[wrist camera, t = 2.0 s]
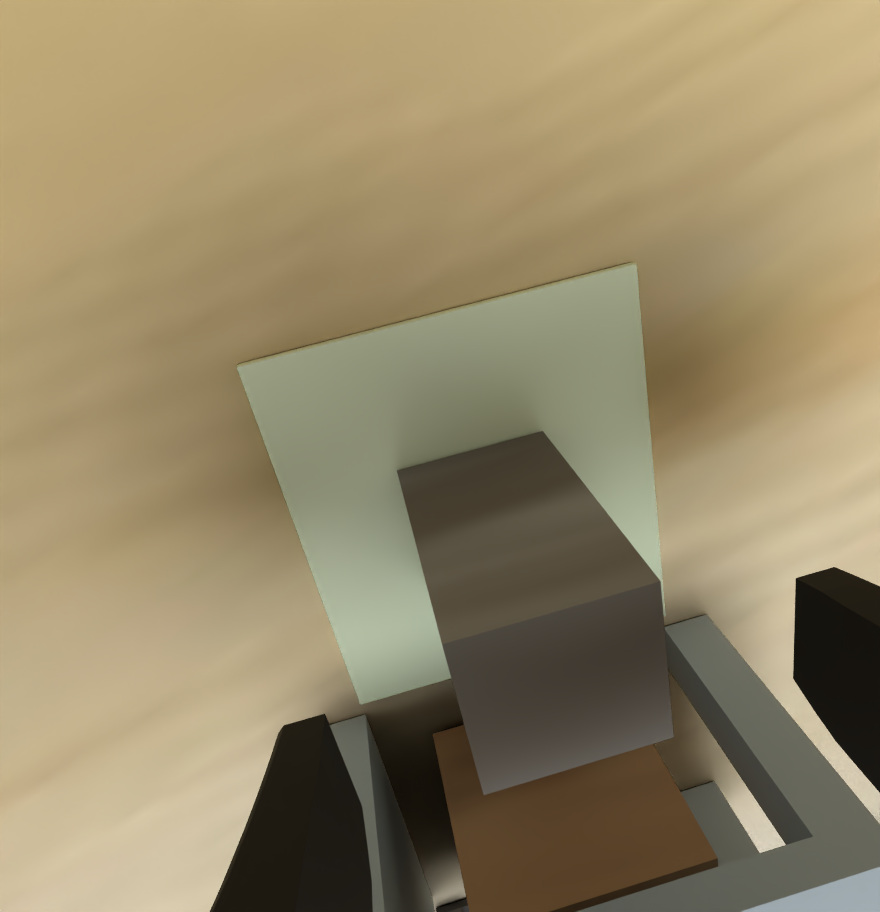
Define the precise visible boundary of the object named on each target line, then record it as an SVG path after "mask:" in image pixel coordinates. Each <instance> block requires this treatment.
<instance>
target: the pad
mask: <svg viewBox="0 0 880 912" xmlns="http://www.w3.org/2000/svg"><path fill="white" fill-rule="evenodd" d="M237 370H238V373H239V375H240V378H241V381H242V384H243V386H244V389H245V392H246V394H247V397H248V400H249V403H250V405H251V408H252V411H253V414H254V416H255V419H256V422H257V424H258V427H259V430H260V433H261V435H262V438H263V441H264V444H265V446H266V449H267V452H268V454H269V457H270V460H271V463H272V465H273V468H274V471H275V474H276V476H277V479H278V482H279V485H280V487H281V490H282V493H283V495H284V498H285V501H286V504H287V506H288V509H289V512H290V515H291V517H292V520H293V523H294V525H295V528H296V531H297V534H298V536H299V539H300V542H301V545H302V547H303V550H304V553H305V555H306V558H307V561H308V564H309V566H310V569H311V572H312V575H313V577H314V580H315V583H316V585H317V588H318V591H319V594H320V596H321V599H322V602H323V605H324V607H325V610H326V613H327V616H328V618H329V621H330V624H331V626H332V629H333V632H334V635H335V637H336V640H337V643H338V646H339V648H340V651H341V654H342V656H343V659H344V662H345V665H346V667H347V670H348V673H349V676H350V678H351V681H352V684H353V686H354V689H355V692H356V695H357V697H358V700H359V703H360V705H362V704H365V703H369V702H372V701H375V700H379V699H382V698H386V697H389V696H393V695H396V694H399V693H403V692H406V691H410V690H413V689H417V688H420V687H423V686H427V685H430V684H434V683H437V682H440V681H444V680H447V679H451V675H450V672H449V668H448V664H447V661H446V657H445V654H444V650H443V646H442V643H441V639H440V635H439V631H438V627H437V623H436V620H435V616H434V612H433V608H432V604H431V600H430V597H429V593H428V589H427V585H426V581H425V577H424V574H423V570H422V566H421V562H420V558H419V554H418V550H417V547H416V543H415V539H414V535H413V531H412V527H411V524H410V520H409V516H408V512H407V508H406V504H405V500H404V497H403V493H402V489H401V485H400V481H399V477H398V474H397V470H401V469H404V468H408V467H412V466H415V465H419V464H423V463H426V462H430V461H434V460H438V459H441V458H445V457H449V456H452V455H456V454H460V453H463V452H467V451H471V450H474V449H478V448H482V447H485V446H489V445H493V444H496V443H500V442H504V441H507V440H511V439H515V438H518V437H522V436H526V435H529V434H533V433H537V432H540V431H543V432H544V433H545V434H546V436H547V437H548V438H549V439H550V441H551V442H552V443H553V444H554V446H555V447H556V448H557V450H558V451H559V452H560V453H561V455H562V456H563V457H564V459H565V460H566V461H567V462H568V464H569V465H570V466H571V467H572V469H573V470H574V471H575V473H576V474H577V475H578V476H579V478H580V479H581V480H582V481H583V483H584V484H585V485H586V487H587V488H588V489H589V490H590V492H591V493H592V494H593V496H594V497H595V498H596V499H597V501H598V502H599V503H600V504H601V506H602V507H603V508H604V510H605V511H606V512H607V513H608V515H609V516H610V517H611V519H612V520H613V521H614V522H615V524H616V525H617V526H618V527H619V529H620V530H621V531H622V533H623V534H624V535H625V536H626V538H627V539H628V540H629V541H630V543H631V544H632V545H633V547H634V548H635V549H636V550H637V552H638V553H639V554H640V556H641V557H642V558H643V559H644V561H645V562H646V563H647V564H648V566H649V567H650V568H651V570H652V571H653V572H654V573H655V575H656V576H657V577H658V579H659V580H660V581H661V592H662V604H663V616H666V614H665V602H664V590H663V578H662V566H661V554H660V542H659V529H658V517H657V505H656V493H655V481H654V469H653V456H652V444H651V432H650V420H649V408H648V396H647V383H646V371H645V359H644V347H643V335H642V323H641V311H640V298H639V286H638V274H637V264H636V263H633V262H631V263H627V264H623V265H619V266H615V267H611V268H608V269H604V270H600V271H596V272H592V273H588V274H584V275H581V276H577V277H573V278H569V279H565V280H561V281H557V282H553V283H550V284H546V285H542V286H538V287H534V288H530V289H526V290H523V291H519V292H515V293H511V294H507V295H503V296H499V297H496V298H492V299H488V300H484V301H480V302H476V303H472V304H468V305H465V306H461V307H457V308H453V309H449V310H445V311H441V312H438V313H434V314H430V315H426V316H422V317H418V318H414V319H411V320H407V321H403V322H399V323H395V324H391V325H387V326H383V327H380V328H376V329H372V330H368V331H364V332H360V333H356V334H353V335H349V336H345V337H341V338H337V339H333V340H329V341H326V342H322V343H318V344H314V345H310V346H306V347H302V348H298V349H295V350H291V351H287V352H283V353H279V354H275V355H271V356H268V357H264V358H260V359H256V360H252V361H248V362H244V363H241V364H237Z"/></svg>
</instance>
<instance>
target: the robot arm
mask: <svg viewBox="0 0 880 912" xmlns="http://www.w3.org/2000/svg"><path fill="white" fill-rule="evenodd" d="M793 679H794V680H795V682H796V683H797V685H798V686H799V688H800V690H801V691H802V693H803V694H804V696H805V697H806V699H807V700H808V702H809V703H810V705H811V706H812V708H813V709H814V711H815V712H816V714H817V715H818V716H819V718H820V719H821V721H822V722H823V724H824V725H825V726H826V728H827V729H828V731H829V732H830V734H831V735H832V736H833V738H834V739H835V741H836V742H837V743H838V744H839V745H840V747H841V748H842V749H843V750H844V751H845V753H846V754H847V755H848V756H849V757H850V758H851V760H852V761H853V762H854V763H855V764H856V765H857V767H858V768H859V769H860V770H861V771H862V772H863V774H864V775H865V776H866V777H867V778H868V779H869V781H870V782H871V783H872V784H873V785H874V786H875V788H876V789H877V790H878V791H879V792H880V586H877V585H875V584H873V583H871V582H868V581H866V580H864V579H861V578H859V577H857V576H855V575H852V574H850V573H847V572H845V571H843V570H840V569H838V568H835V567H833V568H830V569H826V570H823V571H819V572H816V573H812V574H809V575H805V576H802V577H798V578H796V596H795V634H794V671H793ZM210 912H373V903H372V879H371V870H370V862H369V854H368V846H367V838H366V831H365V823H364V816H363V808H362V805H361V802H360V800H359V797H358V795H357V792H356V790H355V787H354V785H353V782H352V780H351V777H350V775H349V772H348V770H347V767H346V765H345V762H344V760H343V757H342V755H341V752H340V750H339V747H338V745H337V742H336V740H335V737H334V735H333V732H332V730H331V727H330V725H329V722H328V720H327V717H326V715H325V714H322V715H319V716H315V717H312V718H308V719H305V720H301V721H298V722H294V723H291V724H287V725H284V726H283V727H282V729H281V730H280V732H279V733H278V736H277V739H276V742H275V746H274V749H273V752H272V755H271V758H270V761H269V763H268V766H267V769H266V772H265V775H264V778H263V781H262V784H261V786H260V789H259V792H258V795H257V797H256V800H255V803H254V805H253V808H252V811H251V813H250V816H249V819H248V821H247V824H246V827H245V829H244V831H243V834H242V836H241V839H240V841H239V844H238V846H237V849H236V851H235V854H234V856H233V859H232V861H231V864H230V866H229V869H228V871H227V873H226V876H225V878H224V881H223V883H222V885H221V888H220V890H219V892H218V895H217V897H216V899H215V901H214V904H213V906H212V908H211V910H210Z"/></svg>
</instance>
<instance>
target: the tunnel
mask: <svg viewBox="0 0 880 912" xmlns="http://www.w3.org/2000/svg"><path fill="white" fill-rule="evenodd" d="M665 639H666V651H667V663H668V669H669V671H670V672H671V674H672V675H673V677H674V678H675V680H676V681H677V683H678V684H679V686H680V687H681V689H682V690H683V692H684V693H685V695H686V696H687V698H688V699H689V701H690V702H691V704H692V705H693V707H694V708H695V710H696V711H697V713H698V714H699V716H700V717H701V719H702V720H703V722H704V723H705V725H706V726H707V727H708V729H709V730H710V732H711V733H712V735H713V736H714V738H715V739H716V741H717V742H718V744H719V745H720V747H721V748H722V750H723V751H724V753H725V754H726V756H727V757H728V759H729V760H730V762H731V763H732V765H733V766H734V768H735V769H736V771H737V772H738V774H739V775H740V777H741V778H742V780H743V781H744V783H745V784H746V786H747V787H748V789H749V790H750V792H751V793H752V795H753V796H754V798H755V799H756V801H757V802H758V804H759V805H760V807H761V808H762V810H763V811H764V813H765V814H766V816H767V817H768V819H769V820H770V822H771V823H772V825H773V826H774V828H775V829H776V831H777V832H778V834H779V835H780V837H781V838H782V839H783V841H784V842H785V844H786V845H785V846H782V847H778V848H775V849H772V850H769V851H766V852H763V853H759V851H758V850H757V848H756V846H755V845H754V843H753V842H752V840H751V838H750V837H749V835H748V834H747V832H746V831H745V829H744V827H743V826H742V824H741V823H740V821H739V819H738V818H737V816H736V815H735V813H734V811H733V810H732V808H731V807H730V805H729V803H728V802H727V800H726V799H725V797H724V795H723V794H722V792H721V791H720V789H719V787H718V786H717V784H716V783H715V781H714V782H711V783H707V784H704V785H701V786H698V787H694V788H691V789H688V790H685V791H681V794H682V796H683V797H684V799H685V801H686V803H687V805H688V806H689V808H690V810H691V812H692V813H693V815H694V817H695V819H696V821H697V822H698V824H699V826H700V828H701V829H702V831H703V833H704V835H705V837H706V838H707V840H708V842H709V844H710V845H711V847H712V849H713V851H714V853H715V854H716V856H717V858H718V867H715V868H712V869H709V870H706V871H703V872H700V873H696V874H693V875H690V876H687V877H684V878H681V879H677V880H674V881H671V882H668V883H665V884H662V885H659V886H655V887H652V888H649V889H646V890H643V891H640V892H636V893H633V894H630V895H627V896H624V897H621V898H617V899H614V900H611V901H608V902H605V903H602V904H599V905H595V906H592V907H589V908H586V909H583V910H580V911H576V912H880V824H879V823H878V821H877V820H876V819H875V818H874V817H873V815H872V814H871V813H870V812H869V811H868V809H867V808H866V807H865V806H864V804H863V803H862V802H861V801H860V800H859V798H858V797H857V796H856V795H855V794H854V792H853V791H852V790H851V789H850V788H849V786H848V785H847V784H846V783H845V781H844V780H843V779H842V778H841V777H840V775H839V774H838V773H837V772H836V771H835V769H834V768H833V767H832V766H831V764H830V763H829V762H828V761H827V760H826V758H825V757H824V756H823V755H822V754H821V752H820V751H819V750H818V749H817V748H816V746H815V745H814V744H813V743H812V741H811V740H810V739H809V738H808V737H807V735H806V734H805V733H804V732H803V731H802V729H801V728H800V727H799V726H798V724H797V723H796V722H795V721H794V720H793V718H792V717H791V716H790V715H789V714H788V712H787V711H786V710H785V709H784V708H783V706H782V705H781V704H780V703H779V701H778V700H777V699H776V698H775V697H774V695H773V694H772V693H771V692H770V691H769V689H768V688H767V687H766V686H765V684H764V683H763V682H762V681H761V680H760V678H759V677H758V676H757V675H756V674H755V672H754V671H753V670H752V669H751V668H750V666H749V665H748V664H747V663H746V661H745V660H744V659H743V658H742V657H741V655H740V654H739V653H738V652H737V651H736V649H735V648H734V647H733V646H732V644H731V643H730V642H729V641H728V640H727V638H726V637H725V636H724V635H723V634H722V632H721V631H720V630H719V629H718V628H717V626H716V625H715V624H714V623H713V621H712V620H711V619H710V618H709V617H708V615H703V616H700V617H696V618H693V619H690V620H686V621H683V622H679V623H676V624H673V625H669V626H666V627H665ZM330 727H331V730H332V732H333V735H334V737H335V740H336V742H337V745H338V747H339V750H340V752H341V755H342V757H343V760H344V762H345V765H346V767H347V770H348V772H349V775H350V777H351V780H352V782H353V785H354V787H355V790H356V792H357V795H358V797H359V800H360V802H361V805H362V808H363V816H364V823H365V831H366V838H367V846H368V854H369V862H370V870H371V879H372V903H373V912H435V910H434V904H433V898H432V896H431V893H430V890H429V887H428V885H427V882H426V879H425V876H424V874H423V871H422V868H421V866H420V863H419V860H418V857H417V855H416V852H415V849H414V846H413V844H412V841H411V838H410V835H409V833H408V830H407V827H406V824H405V822H404V819H403V816H402V813H401V811H400V808H399V805H398V802H397V800H396V797H395V794H394V792H393V789H392V786H391V783H390V781H389V778H388V775H387V772H386V770H385V767H384V764H383V761H382V759H381V756H380V753H379V750H378V748H377V745H376V742H375V739H374V737H373V734H372V731H371V729H370V726H369V723H368V720H367V718H366V715H362V716H359V717H355V718H352V719H348V720H345V721H342V722H338V723H335V724H331V725H330Z"/></svg>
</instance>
